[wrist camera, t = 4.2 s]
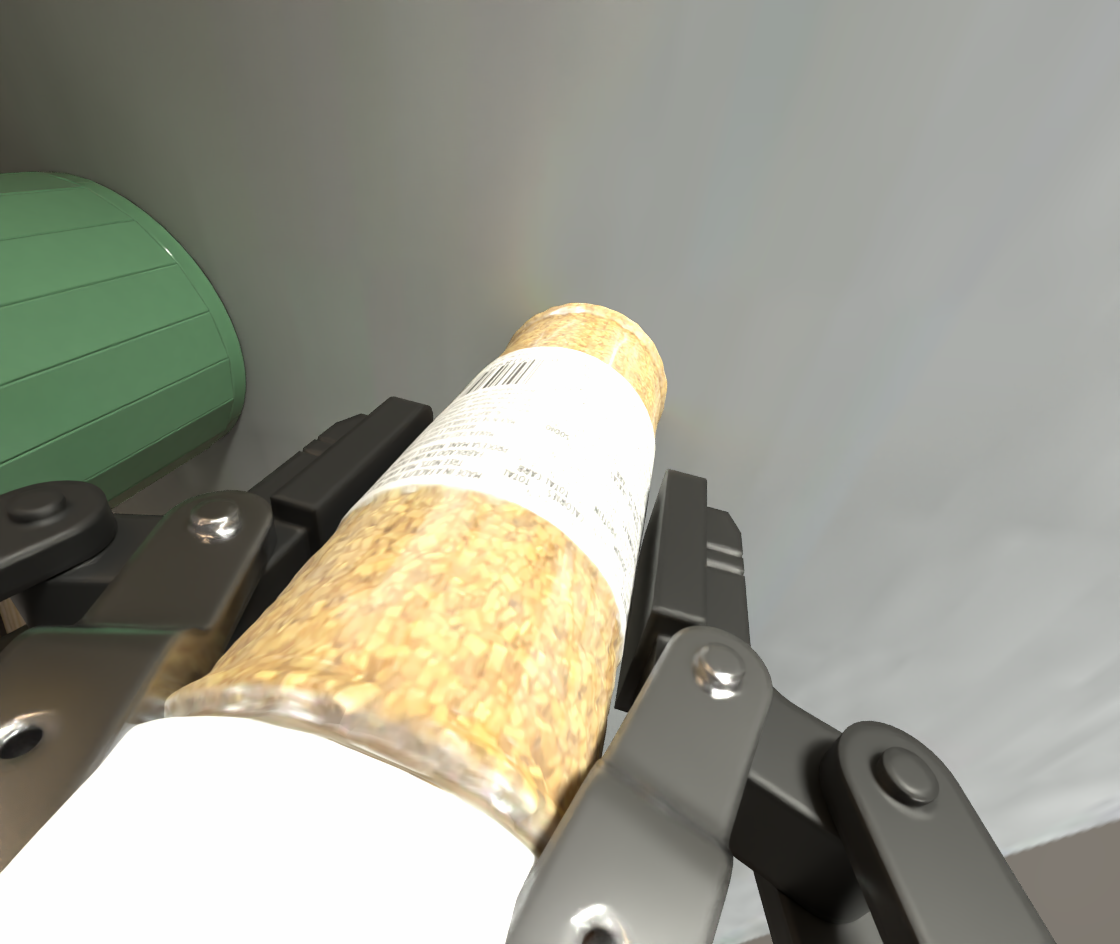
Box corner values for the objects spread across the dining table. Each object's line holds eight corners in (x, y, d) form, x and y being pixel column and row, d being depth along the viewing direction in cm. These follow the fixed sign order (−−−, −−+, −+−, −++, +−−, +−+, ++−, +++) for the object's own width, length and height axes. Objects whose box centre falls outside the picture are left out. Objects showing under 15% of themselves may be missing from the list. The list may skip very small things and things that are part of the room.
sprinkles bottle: (532, 463, 16) (157, 1171, 5) (482, 316, 14) (-343, 990, 3) (684, 443, 15) (614, 1389, 4) (654, 276, 13) (261, 1337, 1)
